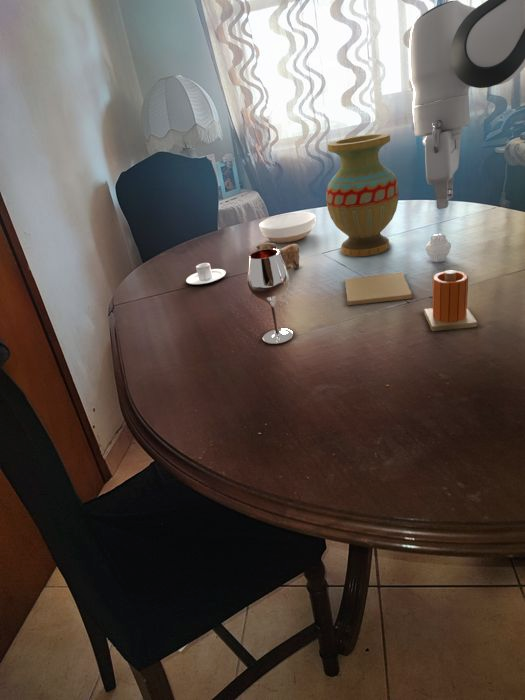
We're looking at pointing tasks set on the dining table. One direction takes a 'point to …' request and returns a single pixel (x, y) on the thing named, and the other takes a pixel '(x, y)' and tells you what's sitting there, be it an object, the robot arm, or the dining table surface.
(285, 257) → the figurine
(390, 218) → the vase
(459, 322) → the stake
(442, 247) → the muffin
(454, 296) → the orange ring
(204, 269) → the candle holder
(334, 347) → the dining table surface
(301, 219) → the bowl
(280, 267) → the wineglass
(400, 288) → the cork mat
